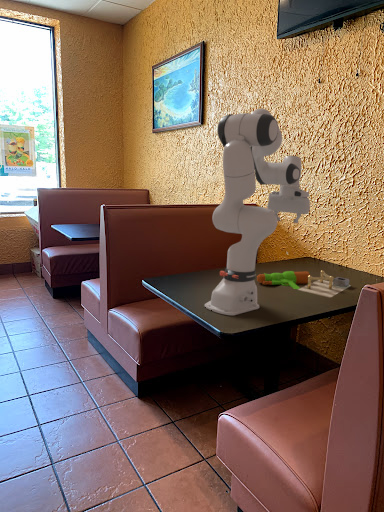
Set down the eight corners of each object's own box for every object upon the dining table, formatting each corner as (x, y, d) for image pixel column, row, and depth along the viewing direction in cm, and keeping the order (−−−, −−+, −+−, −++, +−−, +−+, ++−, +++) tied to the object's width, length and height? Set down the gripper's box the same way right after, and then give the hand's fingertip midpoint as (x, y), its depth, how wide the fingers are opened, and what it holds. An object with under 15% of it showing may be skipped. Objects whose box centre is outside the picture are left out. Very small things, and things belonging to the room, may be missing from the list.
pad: (345, 289, 172) (345, 288, 172) (330, 285, 176) (330, 285, 176) (350, 286, 177) (350, 285, 177) (336, 282, 182) (336, 282, 182)
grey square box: (344, 287, 173) (345, 281, 172) (332, 285, 176) (333, 278, 176) (348, 285, 177) (349, 279, 176) (337, 282, 180) (337, 276, 180)
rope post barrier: (325, 293, 164) (326, 279, 163) (305, 288, 170) (307, 275, 169) (338, 286, 176) (340, 273, 175) (320, 281, 182) (321, 269, 181)
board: (329, 300, 159) (330, 297, 159) (296, 292, 168) (297, 289, 168) (350, 288, 177) (350, 286, 177) (319, 281, 187) (319, 279, 187)
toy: (318, 283, 168) (308, 268, 181) (262, 285, 168) (256, 269, 181) (316, 296, 171) (306, 280, 184) (261, 297, 171) (255, 281, 184)
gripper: (266, 191, 179) (263, 220, 182) (306, 193, 166) (303, 224, 168) (272, 191, 184) (270, 219, 186) (312, 193, 170) (309, 223, 173)
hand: (286, 221), depth 177 cm, fingers open, 8 cm apart
